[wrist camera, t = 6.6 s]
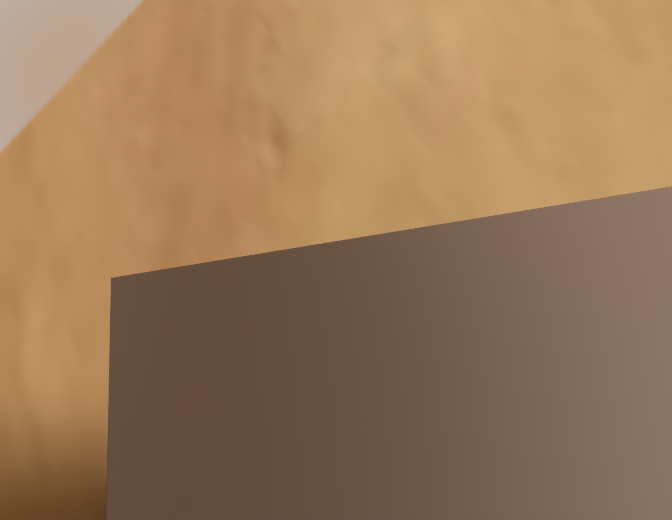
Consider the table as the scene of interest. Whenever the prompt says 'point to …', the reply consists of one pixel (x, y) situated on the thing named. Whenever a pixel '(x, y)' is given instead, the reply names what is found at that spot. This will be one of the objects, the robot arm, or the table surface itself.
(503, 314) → the walnut pillar
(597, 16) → the table surface
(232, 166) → the table surface
